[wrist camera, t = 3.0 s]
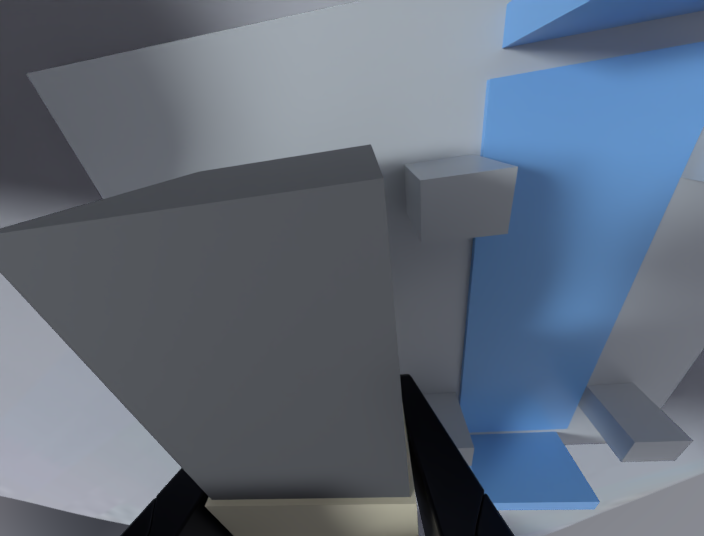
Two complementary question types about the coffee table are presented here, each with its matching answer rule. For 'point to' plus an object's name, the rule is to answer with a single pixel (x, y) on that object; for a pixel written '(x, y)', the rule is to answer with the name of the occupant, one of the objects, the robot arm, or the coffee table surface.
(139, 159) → the block model on plate
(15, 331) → the coffee table surface
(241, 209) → the gray banded bar
